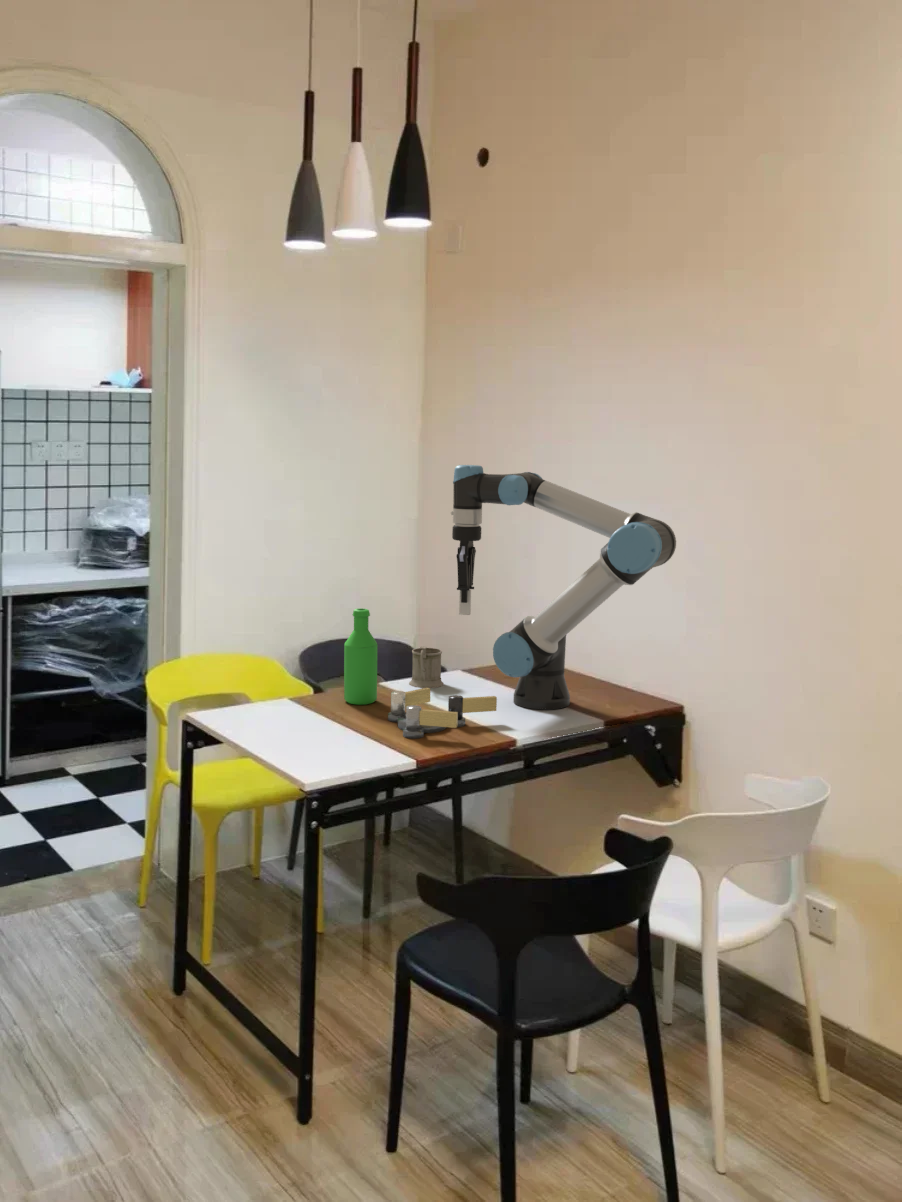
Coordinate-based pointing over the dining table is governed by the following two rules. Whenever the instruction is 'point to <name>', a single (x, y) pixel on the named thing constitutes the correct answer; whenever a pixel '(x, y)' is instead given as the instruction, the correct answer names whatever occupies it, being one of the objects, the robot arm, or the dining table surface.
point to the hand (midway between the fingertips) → (464, 614)
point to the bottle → (360, 662)
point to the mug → (426, 668)
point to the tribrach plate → (424, 728)
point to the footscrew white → (408, 699)
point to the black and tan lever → (471, 704)
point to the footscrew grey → (429, 718)
